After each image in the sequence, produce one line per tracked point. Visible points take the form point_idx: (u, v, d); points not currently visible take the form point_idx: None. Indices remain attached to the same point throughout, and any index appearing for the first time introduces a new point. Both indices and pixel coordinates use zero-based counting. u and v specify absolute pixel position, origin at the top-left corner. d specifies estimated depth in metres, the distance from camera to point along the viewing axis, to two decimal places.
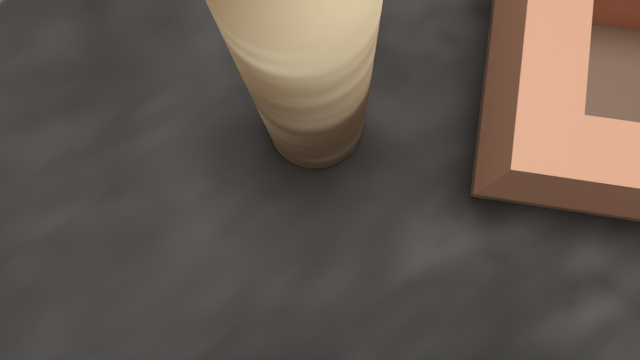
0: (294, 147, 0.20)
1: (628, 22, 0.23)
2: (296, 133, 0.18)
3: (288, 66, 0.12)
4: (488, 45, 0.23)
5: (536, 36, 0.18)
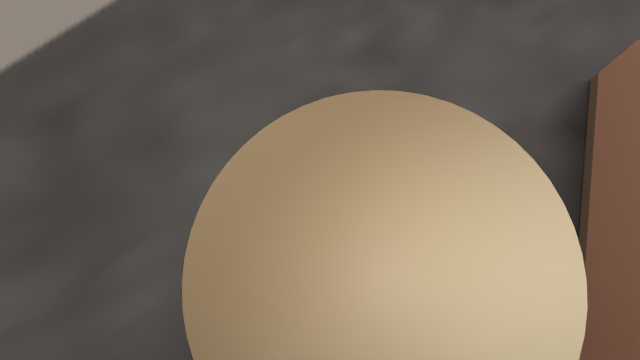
0: None
1: None
2: None
3: None
4: (587, 181, 0.17)
5: None
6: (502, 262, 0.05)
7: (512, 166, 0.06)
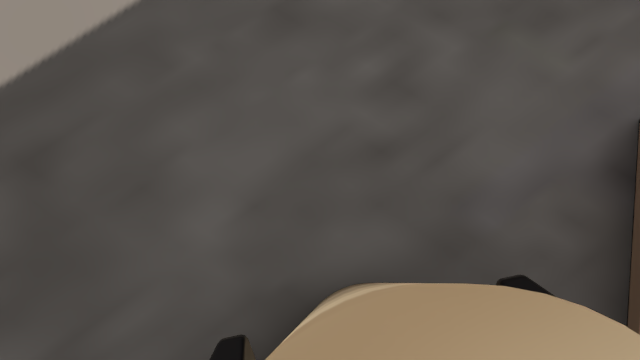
0: None
1: None
2: None
3: None
4: (638, 238, 0.15)
5: None
6: None
7: None
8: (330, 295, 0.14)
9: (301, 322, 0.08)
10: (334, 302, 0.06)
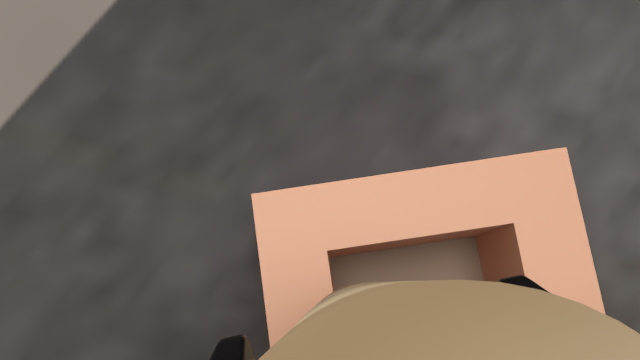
0: None
1: (411, 245, 0.21)
2: None
3: None
4: None
5: None
6: None
7: None
8: None
9: None
10: (331, 300, 0.06)
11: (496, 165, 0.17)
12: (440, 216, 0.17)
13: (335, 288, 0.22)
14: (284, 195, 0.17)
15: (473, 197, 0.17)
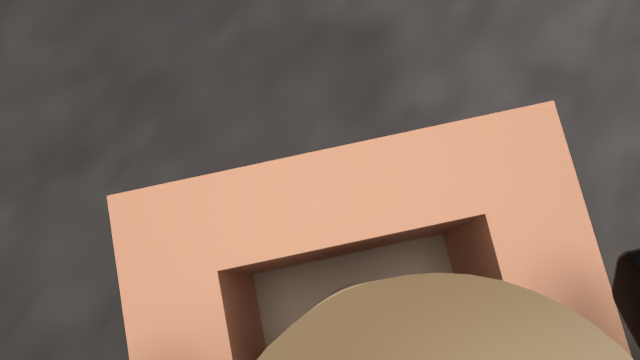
0: None
1: (358, 251, 0.16)
2: None
3: None
4: None
5: None
6: None
7: None
8: None
9: None
10: (335, 294, 0.07)
11: (455, 132, 0.12)
12: (378, 211, 0.12)
13: (261, 315, 0.16)
14: (154, 194, 0.12)
15: (425, 180, 0.12)
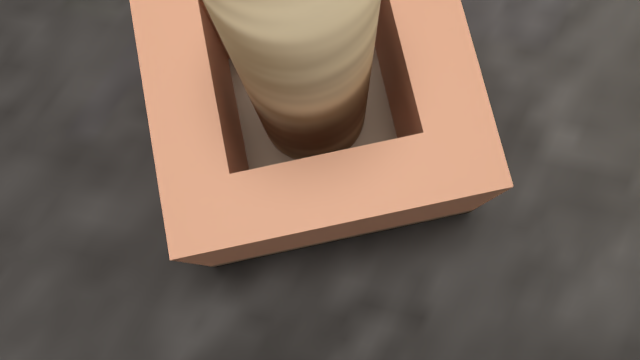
0: (288, 136, 0.18)
1: None
2: (289, 118, 0.16)
3: (276, 27, 0.10)
4: None
5: (159, 108, 0.17)
6: None
7: None
8: None
9: None
10: None
11: None
12: None
13: (234, 86, 0.22)
14: None
15: None
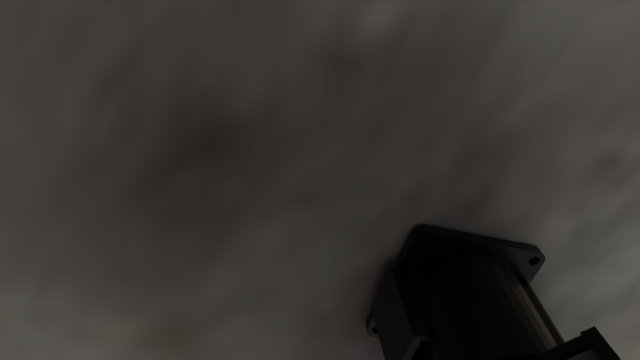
0: None
1: None
2: None
3: None
4: None
5: None
6: None
7: None
8: None
9: None
10: None
11: None
12: None
13: None
14: None
15: None
